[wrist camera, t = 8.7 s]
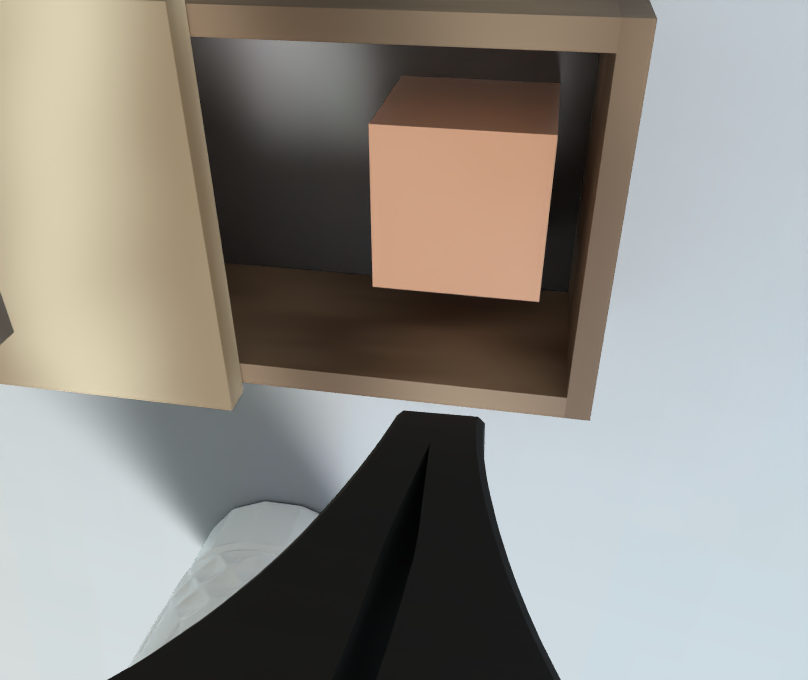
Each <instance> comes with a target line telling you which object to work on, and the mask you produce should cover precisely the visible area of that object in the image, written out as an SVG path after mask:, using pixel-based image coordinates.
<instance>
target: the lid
mask: <svg viewBox="0 0 808 680" xmlns="http://www.w3.org/2000/svg"><path fill="white" fill-rule="evenodd" d="M0 384H6V385H15V386H24V387H32V388H41V389H50V390H58V391H67V392H75V393H84V394H93V395H101V396H110V397H119V398H127V399H136V400H144V401H153V402H162V403H170V404H179V405H187V406H196V407H205V408H213V409H222V410H231V411H232V410H233V408H234V407H235V405H236V403H237V402H238V400H239V398H240V396H241V395H242V393H243V384H242V378H241V371H240V365H239V358H238V351H237V345H236V338H235V331H234V325H233V318H232V311H231V305H230V298H229V292H228V285H227V278H226V272H225V265H224V258H223V252H222V245H221V239H220V232H219V225H218V219H217V212H216V205H215V199H214V192H213V185H212V179H211V172H210V166H209V159H208V152H207V146H206V139H205V132H204V126H203V119H202V112H201V106H200V99H199V93H198V86H197V79H196V73H195V66H194V59H193V53H192V46H191V40H190V33H189V26H188V20H187V13H186V6H185V0H0Z"/></svg>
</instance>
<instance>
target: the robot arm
mask: <svg viewBox="0 0 808 680" xmlns="http://www.w3.org/2000/svg"><path fill="white" fill-rule="evenodd" d="M484 435H485V423H484V422H483V421H482V420H481V419H480V418H479V417H473V416H462V415H450V414H438V413H426V412H415V411H402V412H401V413H400V414H398V415H397V416H396V418H395V419H394V421H393V422H392V424H391V425H390V427H389V428H388V430H387V431H386V433H385V434H384V436H383V437H382V438H381V440H380V441H379V443H378V444H377V445H376V447H375V448H374V449H373V451H372V452H371V453H370V455H369V456H368V457H367V459H366V460H365V461H364V463H363V464H362V465H361V466H360V468H359V469H358V470H357V471H356V472H355V474H354V475H353V476H352V477H351V479H350V480H349V481H348V482H347V483H346V485H345V486H344V487H343V488H342V489H341V491H340V492H339V493H338V494H337V495H336V497H335V498H334V499H333V500H332V501H331V502H330V503H329V504H328V505H327V507H326V508H325V509H324V510H323V511H322V512H321V513H320V514H319V515H318V516H317V517H316V518H315V519H314V520H313V522H312V523H311V524H310V525H309V526H308V527H307V528H306V529H305V530H304V531H303V532H302V533H301V534H300V535H299V536H298V537H297V538H296V539H295V540H294V541H293V542H292V543H291V544H290V545H289V546H288V547H287V548H286V549H285V550H284V551H283V552H282V553H281V554H280V555H279V556H278V557H276V558H275V559H274V560H273V561H272V562H271V563H270V564H269V565H268V566H266V567H265V568H264V569H263V570H262V571H261V572H260V573H259V574H257V575H256V576H255V577H254V578H253V579H252V580H250V581H249V582H248V583H247V584H245V585H244V586H243V587H242V588H241V589H239V590H238V591H237V592H236V593H234V594H233V595H232V596H231V597H230V598H228V599H227V600H226V601H225V602H223V603H222V604H221V605H219V606H218V607H217V608H216V609H214V610H213V611H212V612H210V613H209V614H208V615H206V616H205V617H204V618H202V619H201V620H199V621H198V622H197V623H195V624H194V625H192V626H191V627H189V628H188V629H186V630H185V631H183V632H182V633H181V634H179V635H178V636H176V637H175V638H173V639H172V640H170V641H169V642H167V643H166V644H164V645H163V646H162V647H160V648H159V649H157V650H156V651H154V652H153V653H151V654H150V655H148V656H147V657H145V658H144V659H142V660H140V661H139V662H137V663H136V664H134V665H132V666H131V667H129V668H127V669H125V670H124V671H122V672H120V673H118V674H117V675H115V676H113V677H112V678H110V679H108V680H560V678H559V676H558V674H557V672H556V670H555V668H554V666H553V664H552V662H551V660H550V658H549V656H548V654H547V652H546V650H545V648H544V646H543V644H542V642H541V640H540V638H539V636H538V633H537V631H536V629H535V626H534V624H533V622H532V620H531V617H530V615H529V613H528V611H527V608H526V606H525V603H524V601H523V598H522V596H521V593H520V591H519V588H518V586H517V583H516V580H515V578H514V575H513V572H512V569H511V566H510V563H509V561H508V557H507V554H506V551H505V548H504V545H503V542H502V539H501V535H500V532H499V528H498V525H497V521H496V517H495V513H494V509H493V505H492V501H491V496H490V492H489V487H488V482H487V477H486V470H485V462H484Z"/></svg>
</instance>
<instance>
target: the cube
mask: <svg viewBox="0 0 808 680" xmlns="http://www.w3.org/2000/svg"><path fill="white" fill-rule="evenodd" d="M560 86H561V83H543V82H522V81H502V80H482V79H461V78H441V77H421V76H401V78H400V79H399V81H398V82H397V83H396V85H395V86H394V88H393V89H392V91H391V92H390V94H389V95H388V96H387V98H386V99H385V101H384V102H383V104H382V105H381V107H380V108H379V110H378V111H377V112H376V114H375V115H374V117H373V118H372V120H371V121H370V123H369V162H370V201H371V239H372V278H373V287H382V288H393V289H403V290H414V291H425V292H436V293H447V294H458V295H469V296H480V297H491V298H501V299H512V300H523V301H534V302H539V298H540V289H541V281H542V272H543V263H544V254H545V245H546V236H547V228H548V219H549V210H550V201H551V192H552V183H553V175H554V166H555V157H556V148H557V139H558V125H559V105H560Z"/></svg>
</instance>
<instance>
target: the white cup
mask: <svg viewBox="0 0 808 680" xmlns="http://www.w3.org/2000/svg"><path fill="white" fill-rule="evenodd" d="M318 515H319V513H316V512H314V511H312V510H310V509H308V508H306V507H303V506H298V505H291V504H284V503H275V502H268V501H264V502H260V503H255V504H251V505H247V506H243V507H239V508H235V509H233V510H231V511H230V512H229V513H228V514H227V515H226V516H225V517H224V518H223V519H222V520H221V521H220V522H219V523H218V524H217V525H216V526H215V527H214V528H213V530H212V531H211V533H210V535H209V536H208V538H207V540H206V542H205V543H204V545H203V547H202V549H201V550H200V552H199V554H198V556H197V558H196V559H195V561H194V563H193V565H192V566H191V568H190V569H189V570H188V571H187V572H186V574H185V575H184V576H183V578H182V579H181V581H180V582H179V584H178V585H177V587H176V588H175V590H174V592H173V593H172V595H171V597H170V599H169V601H168V603H167V605H166V606H165V608H164V609H163V610H162V612H161V613H160V615H159V616H158V618H157V619H156V621H155V623H154V624H153V626H152V628H151V629H150V631H149V633H148V634H147V636H146V638H145V639H144V641H143V643H142V645H141V646H140V648H139V650H138V652H137V653H136V655H135V657H134V658H133V660H132V662H131V664H130V665H129V667H131V666H132V665H134V664H136V663H137V662H139V661H140V660H142V659H144V658H145V657H147V656H148V655H150V654H151V653H153V652H154V651H156V650H157V649H159V648H160V647H162V646H163V645H164V644H166V643H167V642H169V641H170V640H172V639H173V638H175V637H176V636H178V635H179V634H181V633H182V632H183V631H185V630H186V629H188V628H189V627H191V626H192V625H194V624H195V623H197V622H198V621H199V620H201V619H202V618H204V617H205V616H206V615H208V614H209V613H210V612H212V611H213V610H214V609H216V608H217V607H218V606H219V605H221V604H222V603H223V602H225V601H226V600H227V599H228V598H230V597H231V596H232V595H233V594H234V593H236V592H237V591H238V590H239V589H241V588H242V587H243V586H244V585H245V584H247V583H248V582H249V581H250V580H252V579H253V578H254V577H255V576H256V575H257V574H259V573H260V572H261V571H262V570H263V569H264V568H265V567H266V566H268V565H269V564H270V563H271V562H272V561H273V560H274V559H275V558H276V557H278V556H279V555H280V554H281V553H282V552H283V551H284V550H285V549H286V548H287V547H288V546H289V545H290V544H291V543H292V542H293V541H294V540H295V539H296V538H297V537H298V536H299V535H300V534H301V533H302V532H303V531H304V530H305V529H306V528H307V527H308V526H309V525H310V524H311V523H312V522H313V520H314V519H315V518H316V517H317V516H318ZM129 667H128V668H129Z"/></svg>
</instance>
